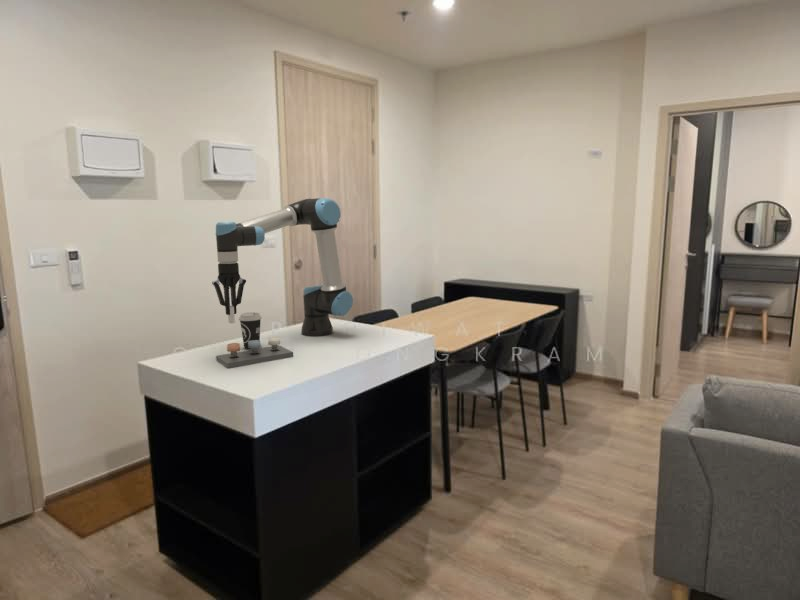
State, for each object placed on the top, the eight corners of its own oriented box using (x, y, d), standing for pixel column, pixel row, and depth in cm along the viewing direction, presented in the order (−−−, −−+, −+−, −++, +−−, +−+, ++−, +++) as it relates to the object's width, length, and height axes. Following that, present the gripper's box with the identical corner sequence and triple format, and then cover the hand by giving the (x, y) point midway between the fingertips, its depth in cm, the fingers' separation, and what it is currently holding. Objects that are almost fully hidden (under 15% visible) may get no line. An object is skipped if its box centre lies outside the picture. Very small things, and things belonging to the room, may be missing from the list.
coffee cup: (257, 350, 232) (255, 316, 230) (236, 350, 234) (234, 315, 232) (266, 345, 241) (265, 312, 239) (247, 344, 243) (245, 311, 241)
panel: (279, 349, 234) (279, 345, 233) (293, 356, 222) (293, 351, 222) (216, 360, 218) (215, 355, 218) (227, 368, 207) (227, 363, 206)
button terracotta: (237, 352, 218) (237, 342, 217) (242, 355, 214) (241, 344, 213) (226, 354, 215) (225, 344, 215) (230, 357, 211) (229, 346, 211)
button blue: (258, 349, 223) (257, 339, 222) (262, 351, 219) (262, 341, 218) (246, 351, 220) (246, 341, 219) (251, 353, 216) (250, 343, 216)
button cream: (277, 346, 228) (277, 336, 227) (282, 348, 224) (281, 338, 223) (266, 348, 225) (266, 337, 224) (271, 350, 221) (270, 340, 221)
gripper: (241, 260, 215) (244, 319, 219) (207, 262, 208) (212, 323, 212) (248, 262, 209) (251, 322, 213) (214, 264, 202) (218, 326, 206)
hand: (231, 322), depth 213 cm, fingers closed
